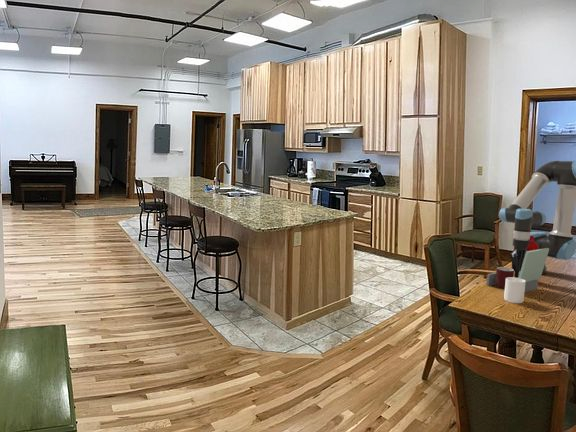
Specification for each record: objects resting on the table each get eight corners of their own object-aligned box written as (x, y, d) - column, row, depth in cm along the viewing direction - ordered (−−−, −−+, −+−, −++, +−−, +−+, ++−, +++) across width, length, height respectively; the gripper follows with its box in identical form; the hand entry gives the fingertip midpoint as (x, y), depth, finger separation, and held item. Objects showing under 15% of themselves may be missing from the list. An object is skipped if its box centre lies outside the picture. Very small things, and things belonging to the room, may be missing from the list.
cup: (503, 301, 208) (505, 280, 206) (503, 294, 218) (505, 274, 217) (523, 304, 204) (525, 283, 203) (522, 297, 215) (525, 276, 213)
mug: (520, 290, 225) (522, 271, 223) (508, 292, 221) (510, 273, 220) (502, 284, 234) (504, 266, 232) (491, 286, 231) (493, 267, 229)
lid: (547, 247, 222) (549, 248, 221) (538, 277, 227) (540, 278, 226) (526, 251, 213) (528, 252, 212) (517, 282, 218) (519, 283, 217)
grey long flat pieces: (507, 280, 242) (508, 269, 241) (537, 289, 228) (538, 277, 227) (486, 285, 233) (487, 274, 232) (516, 294, 219) (517, 282, 218)
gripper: (522, 236, 235) (517, 279, 239) (506, 238, 228) (502, 283, 232) (535, 239, 229) (531, 283, 232) (520, 241, 222) (516, 287, 226)
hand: (516, 283), depth 232 cm, fingers closed
